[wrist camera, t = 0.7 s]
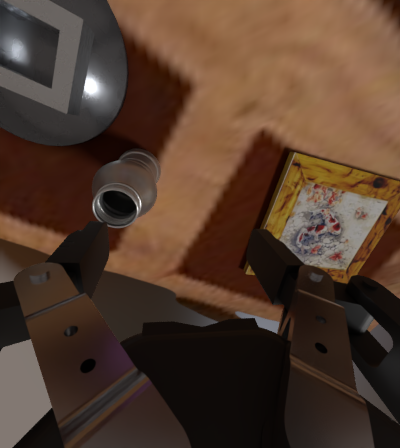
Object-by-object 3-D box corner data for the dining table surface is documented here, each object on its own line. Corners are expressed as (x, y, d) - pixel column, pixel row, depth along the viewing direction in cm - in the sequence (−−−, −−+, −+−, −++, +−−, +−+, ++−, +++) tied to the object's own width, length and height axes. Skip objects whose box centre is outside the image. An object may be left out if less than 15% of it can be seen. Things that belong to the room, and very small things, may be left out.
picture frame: (349, 285, 54) (245, 273, 47) (343, 279, 56) (242, 268, 49) (415, 185, 44) (294, 152, 37) (404, 183, 46) (288, 151, 38)
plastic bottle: (158, 188, 37) (153, 245, 19) (119, 182, 36) (73, 239, 18) (163, 151, 35) (161, 177, 17) (120, 143, 33) (68, 163, 15)
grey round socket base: (-70, -131, 20) (-145, -213, 15) (148, 7, 27) (145, -20, 22) (-63, 104, 28) (-112, 99, 23) (107, 166, 34) (97, 173, 29)
